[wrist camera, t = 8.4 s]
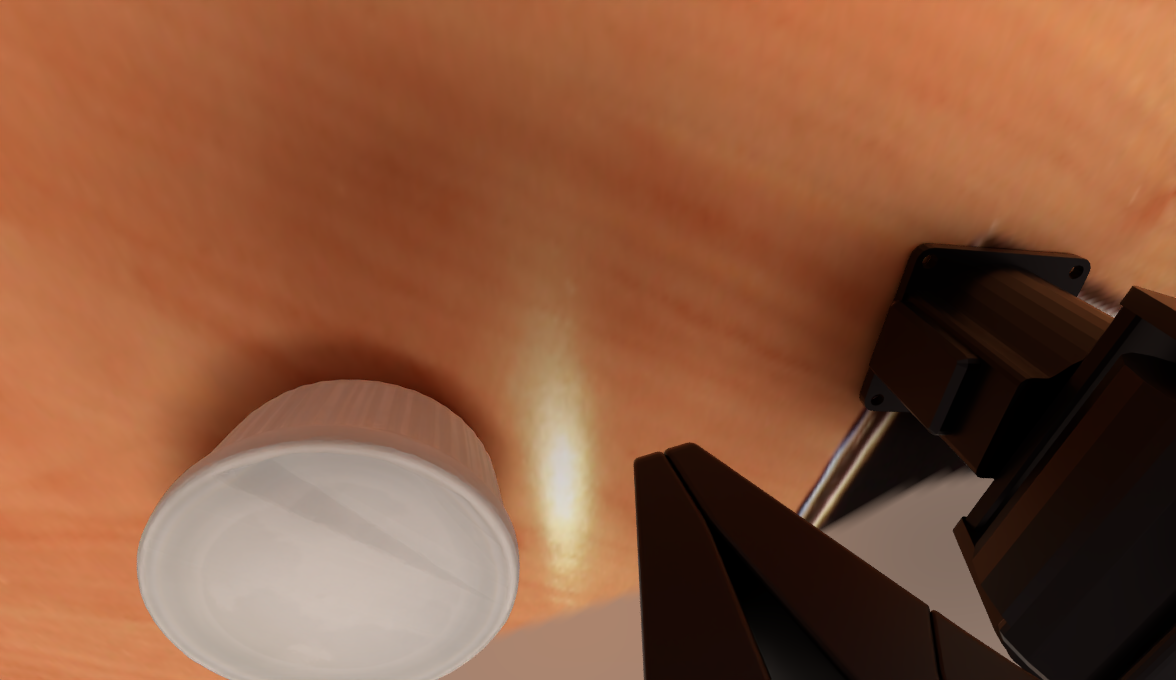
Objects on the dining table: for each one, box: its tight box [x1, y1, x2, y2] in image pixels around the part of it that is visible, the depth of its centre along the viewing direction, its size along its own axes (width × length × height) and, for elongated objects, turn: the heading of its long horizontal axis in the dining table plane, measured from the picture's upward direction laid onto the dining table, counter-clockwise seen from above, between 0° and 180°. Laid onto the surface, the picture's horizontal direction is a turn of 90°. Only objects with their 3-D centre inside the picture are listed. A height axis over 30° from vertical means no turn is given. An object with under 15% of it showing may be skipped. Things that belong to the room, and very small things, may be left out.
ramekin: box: [137, 379, 520, 680], centre depth 22 cm, size 11×11×5 cm
